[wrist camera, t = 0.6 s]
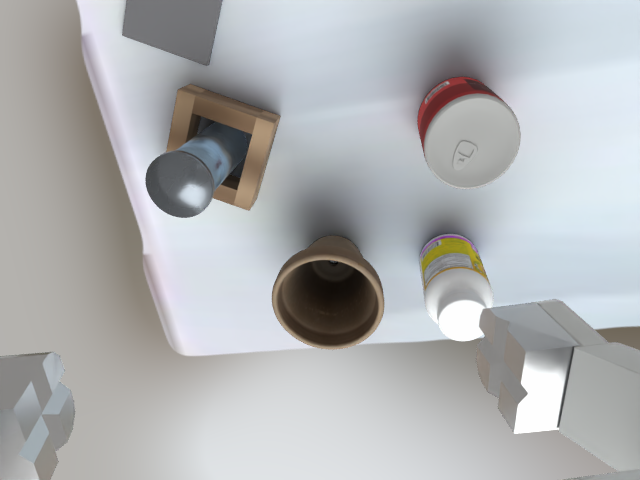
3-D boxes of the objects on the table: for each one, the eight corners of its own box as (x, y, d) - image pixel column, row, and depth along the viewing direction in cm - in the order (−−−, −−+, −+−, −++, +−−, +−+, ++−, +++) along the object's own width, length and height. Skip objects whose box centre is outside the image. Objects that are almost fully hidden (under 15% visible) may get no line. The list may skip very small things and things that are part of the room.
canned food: (410, 149, 53) (416, 183, 43) (425, 70, 49) (435, 88, 40) (483, 159, 52) (505, 196, 43) (504, 80, 49) (534, 101, 39)
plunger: (205, 109, 54) (151, 143, 41) (256, 127, 54) (218, 166, 42) (194, 159, 56) (140, 204, 44) (243, 176, 56) (204, 226, 44)
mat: (137, -63, 47) (135, -64, 47) (228, -30, 48) (227, -30, 47) (125, 35, 51) (122, 35, 51) (208, 65, 52) (206, 65, 51)
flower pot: (403, 246, 58) (407, 292, 49) (352, 315, 63) (346, 368, 54) (317, 196, 56) (304, 234, 47) (272, 270, 61) (252, 317, 52)
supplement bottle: (475, 282, 59) (497, 352, 47) (418, 282, 60) (425, 350, 48) (480, 230, 56) (504, 291, 44) (419, 230, 57) (428, 290, 45)
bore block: (190, 83, 53) (177, 89, 50) (280, 116, 53) (273, 123, 50) (173, 170, 57) (161, 180, 54) (256, 199, 57) (249, 210, 54)
